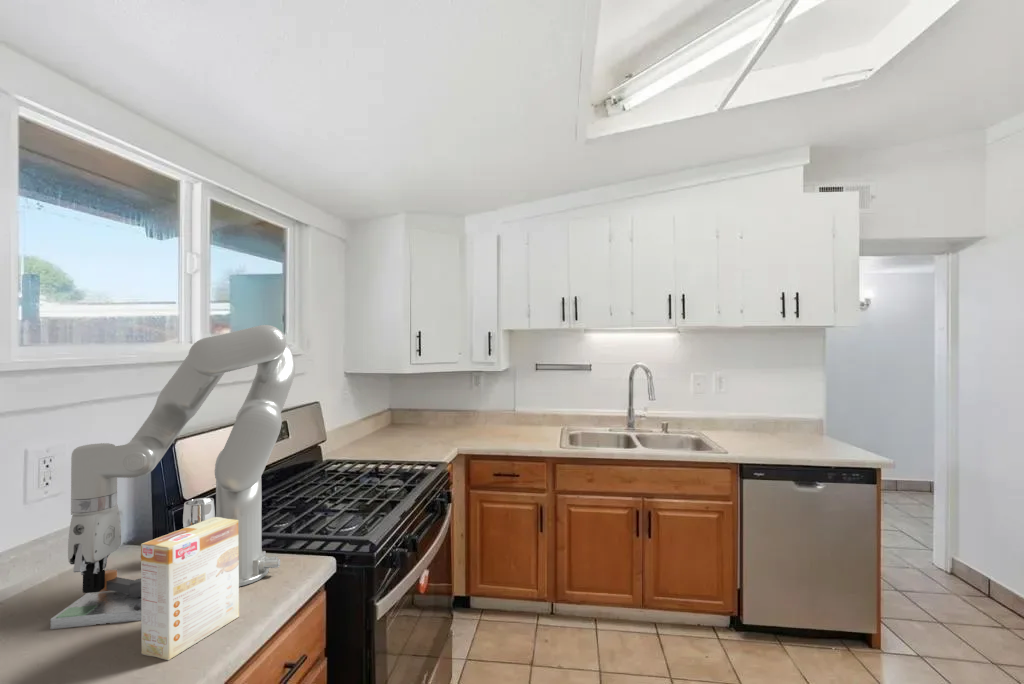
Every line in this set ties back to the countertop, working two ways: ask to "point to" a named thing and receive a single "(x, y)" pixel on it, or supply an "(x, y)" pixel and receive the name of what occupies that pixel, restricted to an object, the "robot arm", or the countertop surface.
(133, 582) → the breaker lever
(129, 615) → the panel
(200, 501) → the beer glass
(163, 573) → the coffeecake box
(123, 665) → the countertop surface
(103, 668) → the countertop surface
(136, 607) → the cord bundle
